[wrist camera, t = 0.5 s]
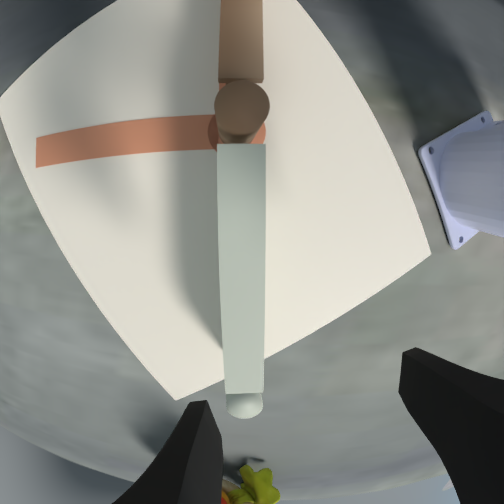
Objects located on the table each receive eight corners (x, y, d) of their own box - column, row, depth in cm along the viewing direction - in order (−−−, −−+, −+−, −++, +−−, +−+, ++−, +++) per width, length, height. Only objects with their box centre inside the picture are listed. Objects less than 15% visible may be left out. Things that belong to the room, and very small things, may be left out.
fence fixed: (253, -46, 12) (263, -100, 7) (255, 148, 16) (270, 131, 10) (224, -46, 12) (226, -101, 6) (218, 149, 16) (213, 131, 10)
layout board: (245, -51, 13) (245, -55, 12) (428, 252, 19) (431, 254, 18) (-1, 102, 14) (-5, 101, 13) (176, 397, 20) (175, 401, 19)
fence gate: (253, 155, 16) (265, 143, 11) (254, 364, 19) (262, 417, 14) (220, 155, 16) (216, 143, 11) (226, 365, 18) (227, 419, 14)
